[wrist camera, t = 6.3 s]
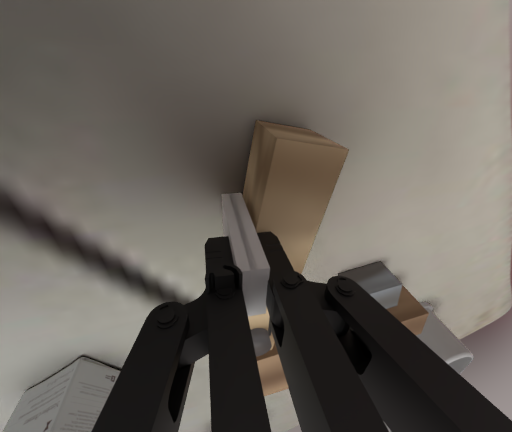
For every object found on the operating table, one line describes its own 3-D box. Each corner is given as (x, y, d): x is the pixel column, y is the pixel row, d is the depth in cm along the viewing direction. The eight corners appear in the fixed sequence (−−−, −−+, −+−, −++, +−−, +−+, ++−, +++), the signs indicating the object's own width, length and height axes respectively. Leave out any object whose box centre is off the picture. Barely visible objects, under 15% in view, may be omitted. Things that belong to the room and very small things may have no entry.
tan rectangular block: (255, 120, 13) (283, 144, 9) (310, 129, 14) (360, 155, 10) (223, 304, 21) (229, 366, 17) (259, 302, 22) (274, 361, 17)
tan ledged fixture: (214, 310, 22) (216, 364, 18) (399, 255, 23) (440, 294, 19) (235, 353, 26) (241, 403, 22) (388, 305, 28) (419, 345, 24)
